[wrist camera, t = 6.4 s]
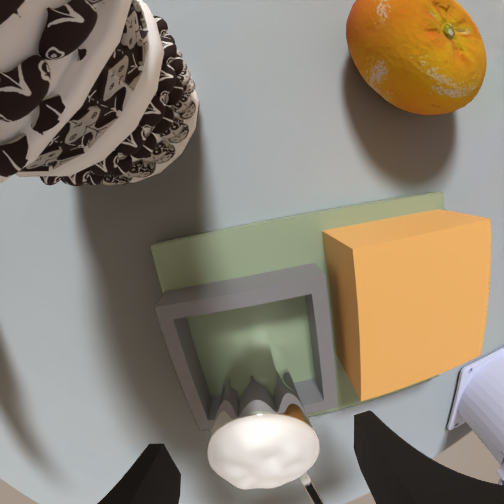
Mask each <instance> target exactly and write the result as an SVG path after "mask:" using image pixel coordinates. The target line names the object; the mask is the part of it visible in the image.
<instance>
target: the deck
mask: <svg viewBox="0 0 504 504" xmlns="http://www.w3.org/2000/svg"><path fill="white" fill-rule="evenodd" d="M150 247H151V252H152V256H153V259H154V263H155V267H156V271H157V275H158V278H159V282H160V286H161V289H162V293H163V295H162V296H161V298H160V299H159V301H158V302H157V304H156V305H155V307H154V309H155V312H156V315H157V318H158V321H159V325H160V328H161V331H162V334H163V337H164V340H165V343H166V346H167V349H168V352H169V354H170V357H171V360H172V363H173V366H174V369H175V371H176V374H177V377H178V379H179V382H180V385H181V387H182V390H183V392H184V395H185V398H186V400H187V403H188V405H189V408H190V410H191V412H192V415H193V417H194V420H195V422H196V424H197V427H198V429H199V430H208V429H209V430H210V432H212V429H213V425H214V421H215V417H216V414H217V410H218V406H219V401H220V396H221V392H222V387H223V382H224V377H225V372H226V368H227V363H228V358H229V356H230V354H231V352H232V349H233V347H234V345H235V343H237V342H239V341H241V340H243V339H245V338H247V337H249V336H260V337H268V338H269V339H270V340H272V341H273V342H274V343H276V344H277V345H278V346H279V347H280V349H281V351H282V354H283V356H284V359H285V362H286V364H287V367H288V369H289V372H290V375H291V377H292V380H293V382H294V385H295V387H296V390H297V392H298V395H299V397H300V399H301V401H302V404H303V406H304V408H305V410H306V413H307V415H308V417H311V416H315V415H319V414H323V413H328V412H332V411H336V410H339V409H343V408H347V407H350V406H354V405H358V404H361V403H364V402H368V401H371V400H374V399H377V398H380V397H384V396H387V395H390V394H393V393H395V392H398V391H401V390H404V389H407V388H409V387H412V386H415V385H417V384H420V383H423V382H425V381H428V380H430V379H433V378H435V377H438V376H439V374H440V373H443V372H445V371H447V370H450V369H452V368H454V367H457V366H459V365H461V364H463V363H465V362H467V361H470V360H472V359H474V358H476V357H478V356H480V355H481V350H482V344H483V338H484V331H485V324H486V316H487V307H488V297H489V284H490V263H491V224H490V219H488V218H483V217H478V216H473V215H468V214H463V213H457V212H452V211H446V210H444V200H443V192H430V193H423V194H417V195H410V196H404V197H397V198H391V199H385V200H379V201H373V202H367V203H361V204H355V205H349V206H343V207H337V208H332V209H326V210H320V211H315V212H309V213H304V214H298V215H293V216H287V217H282V218H276V219H271V220H266V221H261V222H255V223H250V224H245V225H240V226H235V227H230V228H225V229H220V230H215V231H210V232H205V233H200V234H195V235H191V236H186V237H181V238H176V239H171V240H167V241H162V242H157V243H154V244H153V245H151V246H150Z"/></svg>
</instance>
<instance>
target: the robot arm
mask: <svg viewBox="0 0 504 504" xmlns="http://www.w3.org/2000/svg"><path fill="white" fill-rule="evenodd" d="M464 423H467V424H468V425H469V426H470V427H471V429H472V430H473V431H474V432H475V433H476V435H477V436H478V437H479V438H480V440H481V441H482V442H483V443H484V445H485V446H486V447H487V448H488V450H489V451H490V452H491V453H492V455H493V456H494V457H495V458H496V460H497V461H498V462H499V463H500V465H501V467H500V469H499V470H498V471H497V474H498V475H499V476H500V477H501V479H500V481H499V482H498V484H493V483H489V482H485V481H481V480H478V479H475V478H472V477H469V476H466V475H464V474H461V473H458V472H456V471H454V470H452V469H449V468H447V467H445V466H443V465H441V464H439V463H437V462H436V461H434V460H432V459H430V458H429V457H427V456H426V455H424V454H423V453H421V452H419V451H418V450H417V449H415V448H414V447H412V446H411V445H410V444H408V443H407V442H406V441H404V440H403V439H402V438H401V437H399V436H398V435H397V434H396V433H394V432H393V431H392V430H391V429H390V428H389V427H388V426H386V425H385V424H384V423H383V422H382V421H381V420H380V419H379V418H378V417H377V416H376V415H375V414H374V413H373V412H372V411H367V412H363V413H360V414H357V415H354V450H355V454H356V457H357V460H358V463H359V466H360V469H361V472H362V474H363V476H364V478H365V480H366V483H367V485H368V487H369V489H370V491H371V493H372V495H373V497H374V500H375V502H376V504H504V347H503V348H501V349H499V350H497V351H495V352H493V353H492V354H490V355H488V356H486V357H484V358H482V359H480V360H478V361H476V362H474V363H472V364H470V365H468V366H465V367H464V368H462V370H461V371H460V375H459V380H458V385H457V390H456V395H455V399H454V403H453V407H452V411H451V415H450V419H449V422H448V426H447V428H448V429H449V430H452V429H454V428H456V427H458V426H460V425H462V424H464ZM180 484H181V473H180V472H179V470H178V468H177V467H176V465H175V463H174V462H173V460H172V458H171V456H170V455H169V453H168V451H167V449H166V447H165V446H164V444H149V445H148V446H147V448H146V449H145V450H144V451H143V453H142V454H141V455H140V456H139V458H138V459H137V460H136V462H135V463H134V464H133V465H132V467H131V468H130V469H129V470H128V472H127V473H126V474H125V475H124V476H123V478H122V479H121V480H120V481H119V482H118V483H117V484H116V486H115V487H114V488H113V489H112V490H111V491H110V492H109V493H108V494H107V495H106V496H105V497H104V498H103V499H102V500H101V501H100V502H99V503H98V504H178V503H179V497H180Z"/></svg>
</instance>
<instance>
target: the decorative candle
mask: <svg viewBox="0 0 504 504" xmlns="http://www.w3.org/2000/svg"><path fill="white" fill-rule="evenodd" d="M167 29H168V26H167V23H166V22H165V21H164V20H163V19H162V18H160V17H158V16H153V15H152V13H151V11H150V10H149V8H148V6H147V4H145V3H144V2H143V1H142V0H0V183H1V182H3V181H4V180H6V179H7V178H9V177H10V176H12V175H13V174H16V175H18V176H19V177H29V176H40V178H41V180H42V181H43V182H44V183H45V184H46V185H53V184H56V183H57V182H59V181H60V180H62V181H63V182H64V183H65V184H69V185H72V186H80V185H83V184H90V185H97V184H104V185H115V184H118V185H125V184H127V183H129V182H133V183H135V182H138V181H140V180H143V179H145V178H148V177H151V176H153V175H156V174H159V173H161V172H162V171H163V170H164V169H165V168H166V167H168V166H169V165H170V164H171V163H172V162H173V161H174V160H175V159H177V158H178V157H179V156H180V155H181V154H182V153H183V151H184V149H185V147H186V145H187V143H188V142H189V140H190V138H191V136H192V134H193V132H194V131H195V129H196V122H197V114H198V106H199V100H198V97H197V93H196V90H195V83H194V81H193V80H192V77H191V75H190V72H189V71H188V70H187V64H186V63H185V62H184V61H183V60H182V53H181V52H180V51H179V50H178V49H177V48H176V45H175V41H174V39H173V37H172V36H171V35H170V34H168V33H166V32H167Z"/></svg>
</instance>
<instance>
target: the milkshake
mask: <svg viewBox="0 0 504 504" xmlns="http://www.w3.org/2000/svg"><path fill="white" fill-rule="evenodd" d="M318 454H319V440H318V437H317V435H316V433H315V430H314V428H313V426H312V424H311V421H310V419H309V417H308V415H307V413H306V410H305V408H304V406H303V404H302V401H301V399H300V397H299V395H298V392H297V390H296V387H295V385H294V382H293V380H292V377H291V375H290V372H289V369H288V367H287V364H286V362H285V359H284V356H283V354H282V351H281V349H280V347H279V346H278V345H277V344H276V343H274V342H273V341H272V340H270V339H269V338H268V337H260V336H249V337H247V338H245V339H243V340H241V341H239V342H237V343H235V345H234V347H233V349H232V352H231V354H230V356H229V358H228V363H227V368H226V372H225V377H224V382H223V387H222V392H221V396H220V401H219V406H218V410H217V414H216V417H215V421H214V425H213V429H212V433H211V437H210V441H209V445H208V460H209V463H210V466H211V467H212V469H213V470H214V471H215V472H216V473H217V474H218V475H219V476H221V477H222V478H224V479H225V480H227V481H228V482H230V483H231V484H232V485H234V486H235V487H237V488H239V489H244V490H247V489H254V488H267V489H269V488H275V487H278V486H281V485H283V484H285V483H288V482H290V481H293V480H295V479H297V478H300V480H301V482H302V484H303V486H304V488H305V490H306V492H307V494H308V495H309V497H310V499H311V501H312V503H313V504H324V503H323V501H322V499H321V497H320V495H319V494H318V492H317V490H316V488H315V486H314V484H313V483H312V481H311V479H310V477H309V475H308V473H307V472H306V471H307V470H308V469H310V468H311V467H312V465H313V464H314V463H315V461H316V460H317V457H318Z"/></svg>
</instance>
